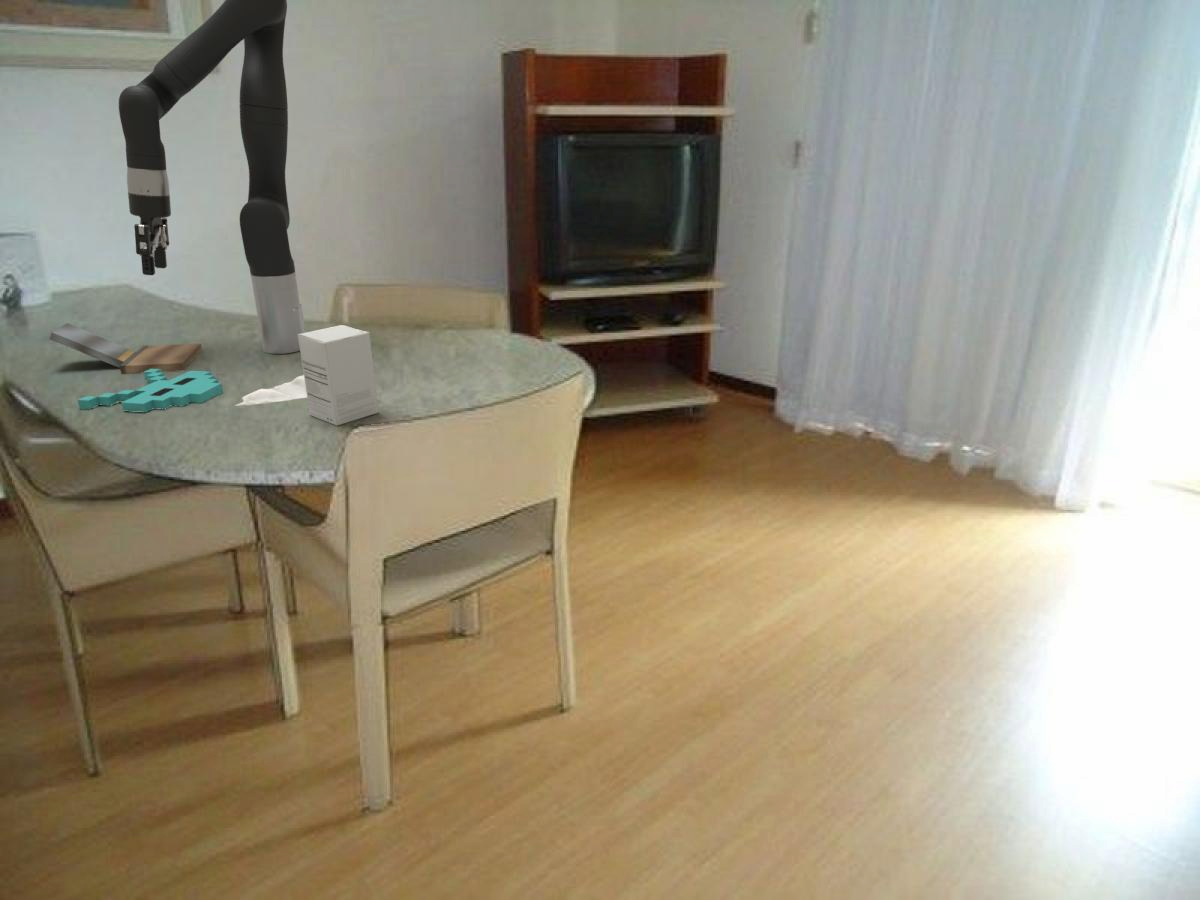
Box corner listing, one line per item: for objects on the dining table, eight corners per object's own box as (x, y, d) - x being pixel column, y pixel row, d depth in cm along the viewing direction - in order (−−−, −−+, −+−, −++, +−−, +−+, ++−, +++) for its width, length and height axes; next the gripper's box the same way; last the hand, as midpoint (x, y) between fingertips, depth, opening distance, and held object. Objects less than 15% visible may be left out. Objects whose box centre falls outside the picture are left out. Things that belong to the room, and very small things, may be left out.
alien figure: (80, 411, 150) (179, 417, 147) (77, 399, 149) (177, 405, 146) (153, 379, 169) (242, 383, 165) (150, 368, 168) (241, 373, 165)
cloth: (246, 417, 148) (244, 405, 147) (212, 400, 157) (210, 389, 156) (372, 385, 165) (371, 374, 165) (336, 371, 174) (334, 361, 173)
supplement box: (351, 402, 153) (342, 323, 148) (380, 413, 148) (371, 331, 142) (307, 415, 147) (295, 333, 141) (335, 426, 141) (324, 341, 136)
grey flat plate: (133, 358, 180) (136, 351, 180) (121, 368, 173) (124, 362, 173) (64, 329, 175) (67, 323, 175) (49, 339, 168) (51, 332, 168)
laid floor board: (202, 351, 186) (200, 342, 186) (184, 371, 172) (182, 362, 171) (145, 354, 184) (143, 345, 183) (121, 374, 170) (119, 365, 169)
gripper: (158, 196, 163) (165, 278, 169) (178, 190, 176) (183, 267, 182) (116, 192, 161) (124, 276, 167) (139, 186, 174) (146, 264, 180)
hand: (155, 271), depth 174 cm, fingers open, 8 cm apart
